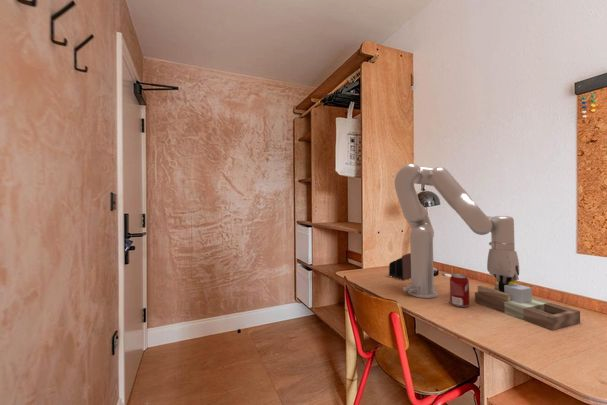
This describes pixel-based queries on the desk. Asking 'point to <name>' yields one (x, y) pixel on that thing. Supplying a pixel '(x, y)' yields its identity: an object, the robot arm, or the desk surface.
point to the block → (518, 293)
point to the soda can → (459, 290)
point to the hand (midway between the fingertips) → (503, 291)
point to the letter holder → (401, 267)
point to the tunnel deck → (528, 309)
